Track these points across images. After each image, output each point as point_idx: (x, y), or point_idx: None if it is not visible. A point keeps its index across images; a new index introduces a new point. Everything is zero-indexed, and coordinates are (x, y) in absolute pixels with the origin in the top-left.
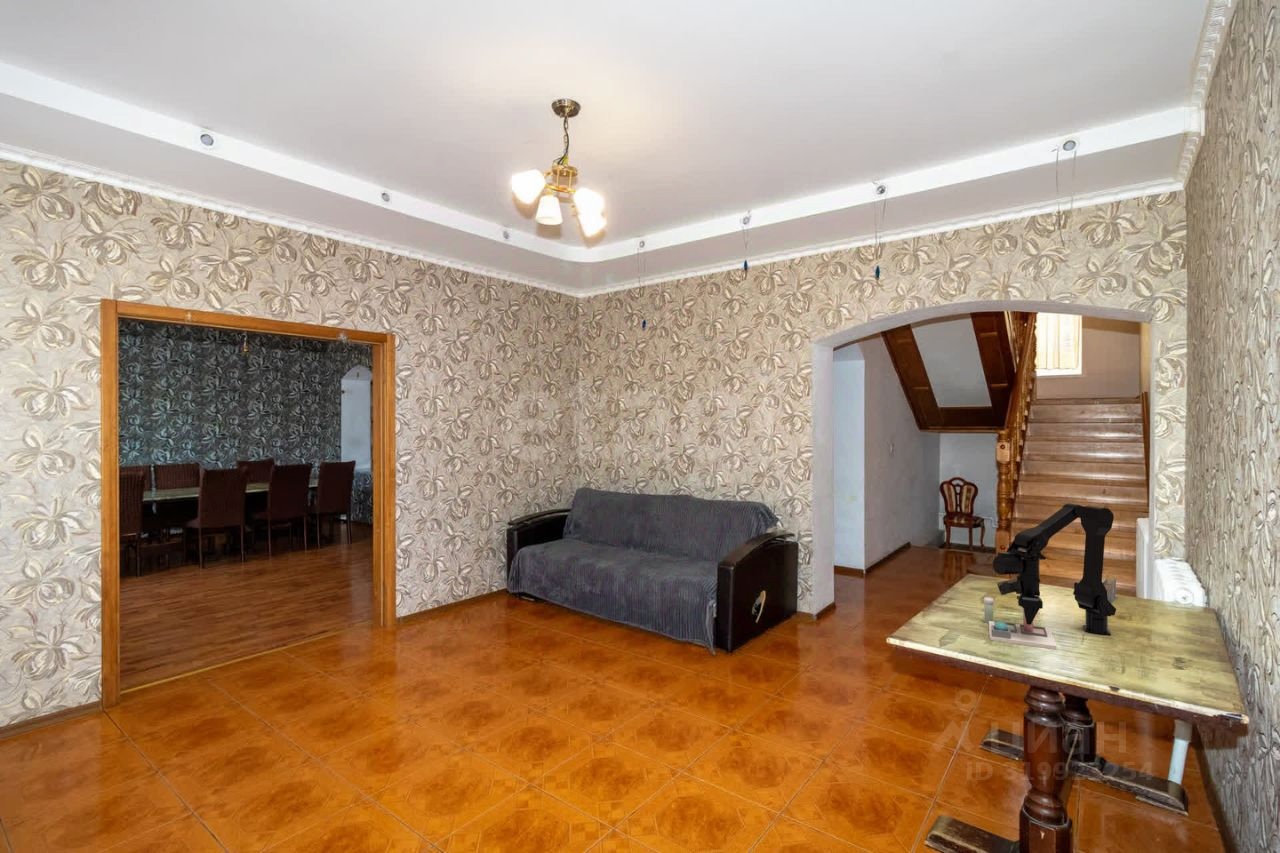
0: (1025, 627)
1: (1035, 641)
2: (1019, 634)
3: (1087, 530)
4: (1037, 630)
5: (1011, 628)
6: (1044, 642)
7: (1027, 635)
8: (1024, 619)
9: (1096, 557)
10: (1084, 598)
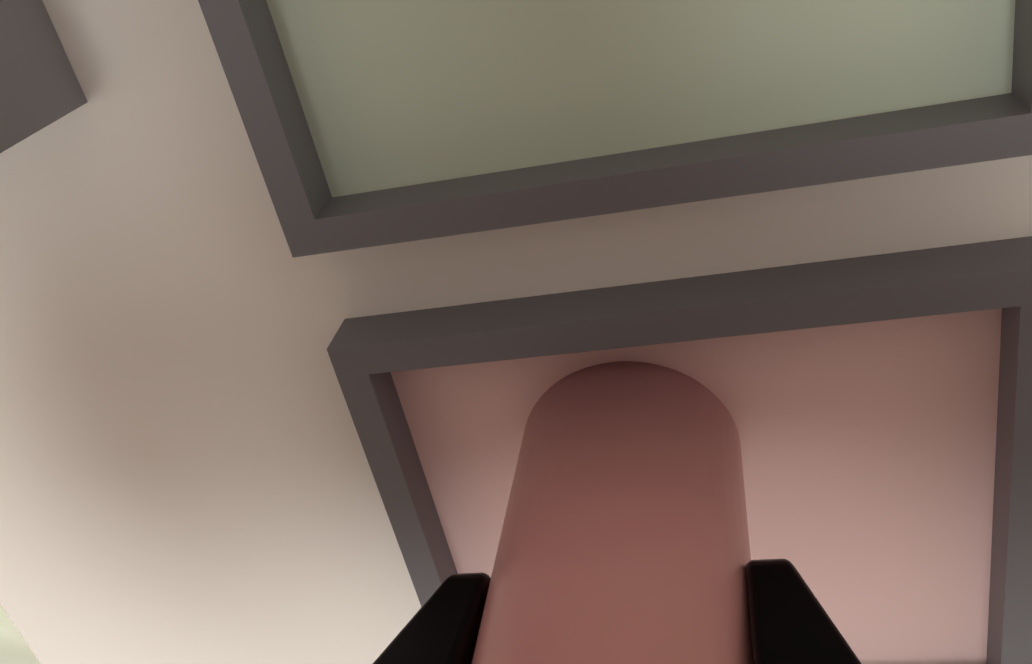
0: (520, 461)
1: (46, 545)
2: (250, 291)
3: None
4: (834, 578)
5: (632, 69)
6: (127, 645)
7: (314, 427)
8: (498, 613)
9: None
10: None
